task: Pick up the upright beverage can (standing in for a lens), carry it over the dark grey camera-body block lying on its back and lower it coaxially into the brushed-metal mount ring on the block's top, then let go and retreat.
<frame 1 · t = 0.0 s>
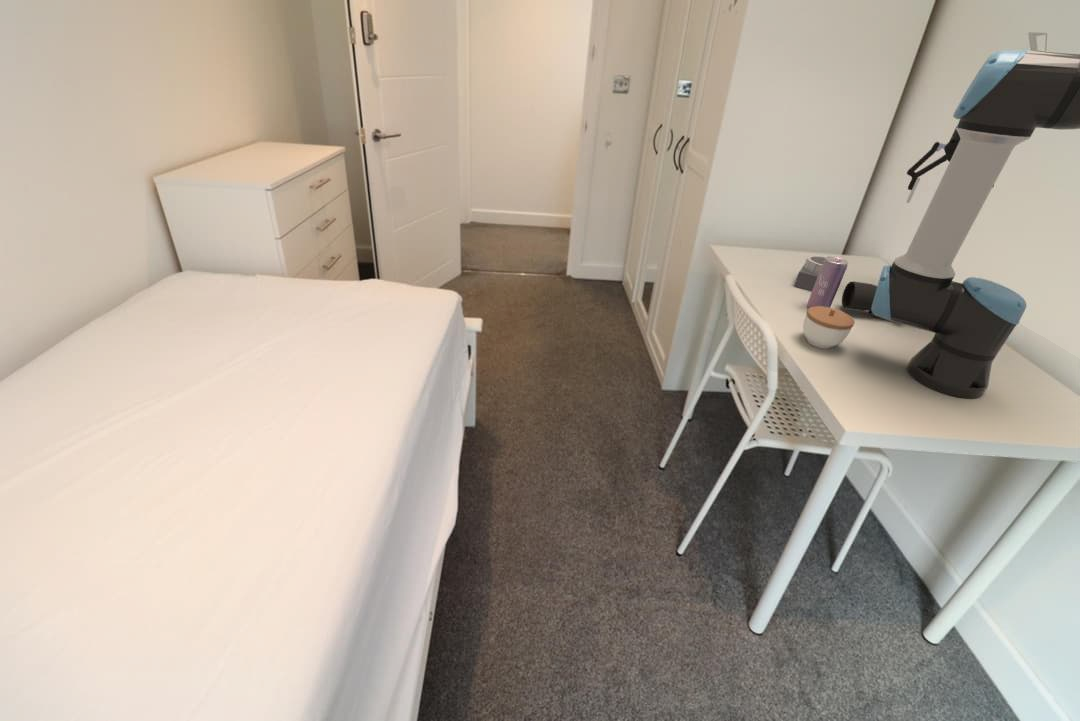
hand: (935, 207, 145), 28 cm above the table, fingers open, 13 cm apart
beverage can: (816, 309, 147), on the table
camera body: (814, 284, 163), on the table
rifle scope: (888, 318, 146), on the table
lidded jar: (819, 343, 130), on the table
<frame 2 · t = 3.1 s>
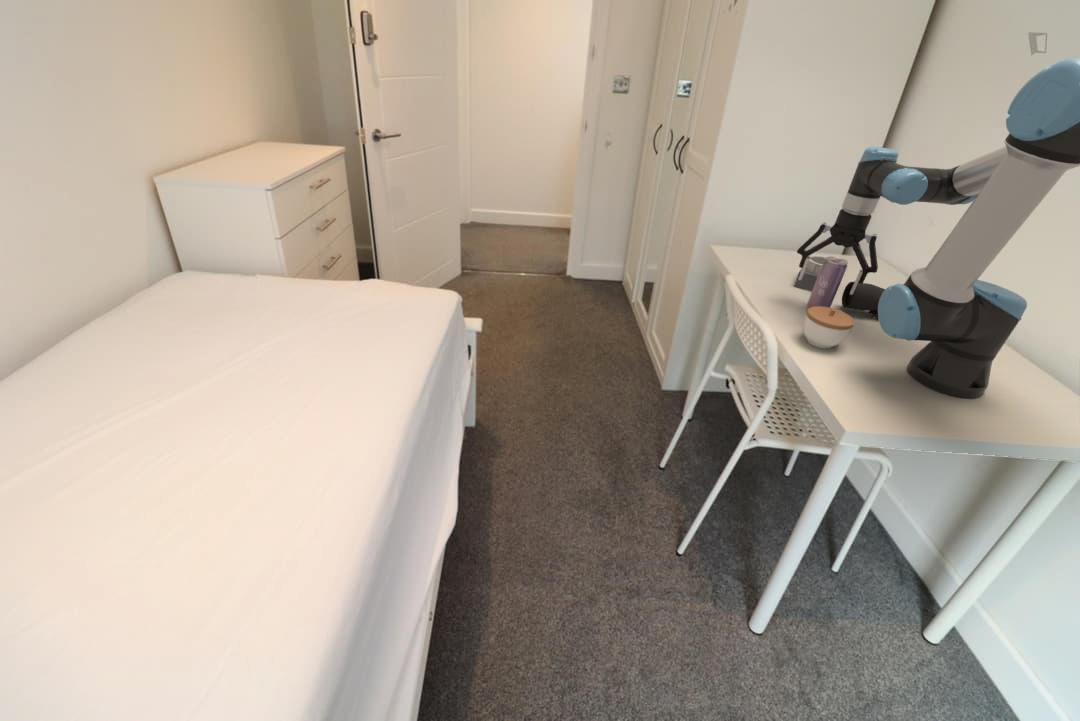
hand: (825, 285, 144), 7 cm above the table, fingers open, 13 cm apart
nothing on the table moved.
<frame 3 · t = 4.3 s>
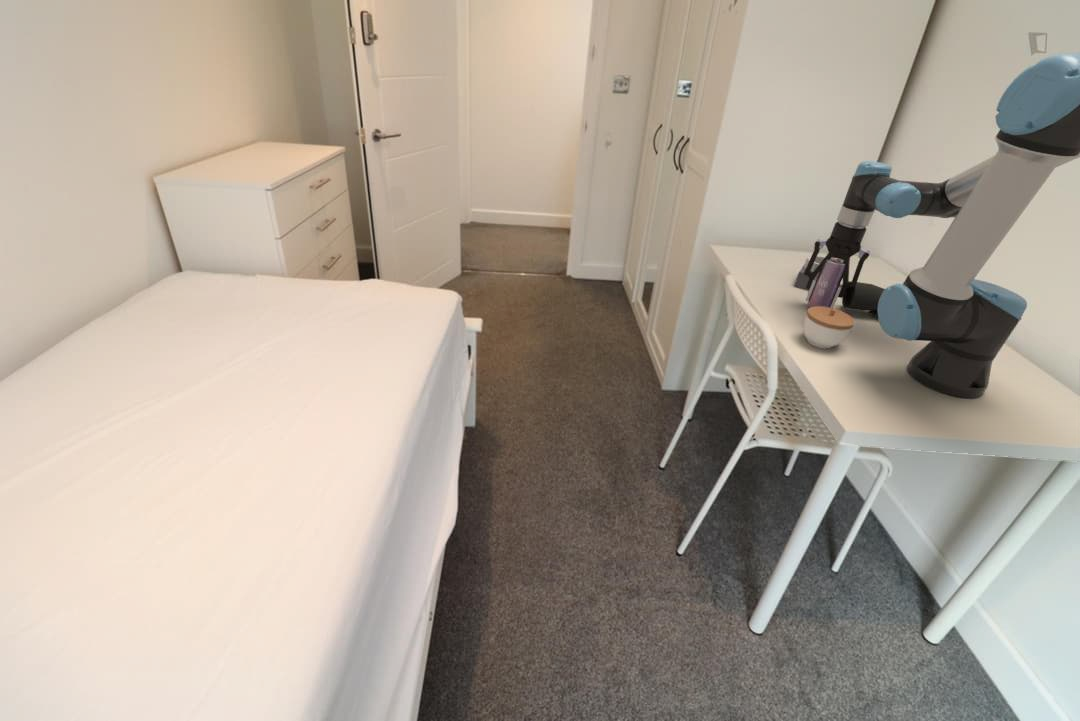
hand: (819, 303, 146), 2 cm above the table, fingers closed on beverage can, 6 cm apart
beverage can: (817, 309, 147), on the table, touching gripper
everything else where it was.
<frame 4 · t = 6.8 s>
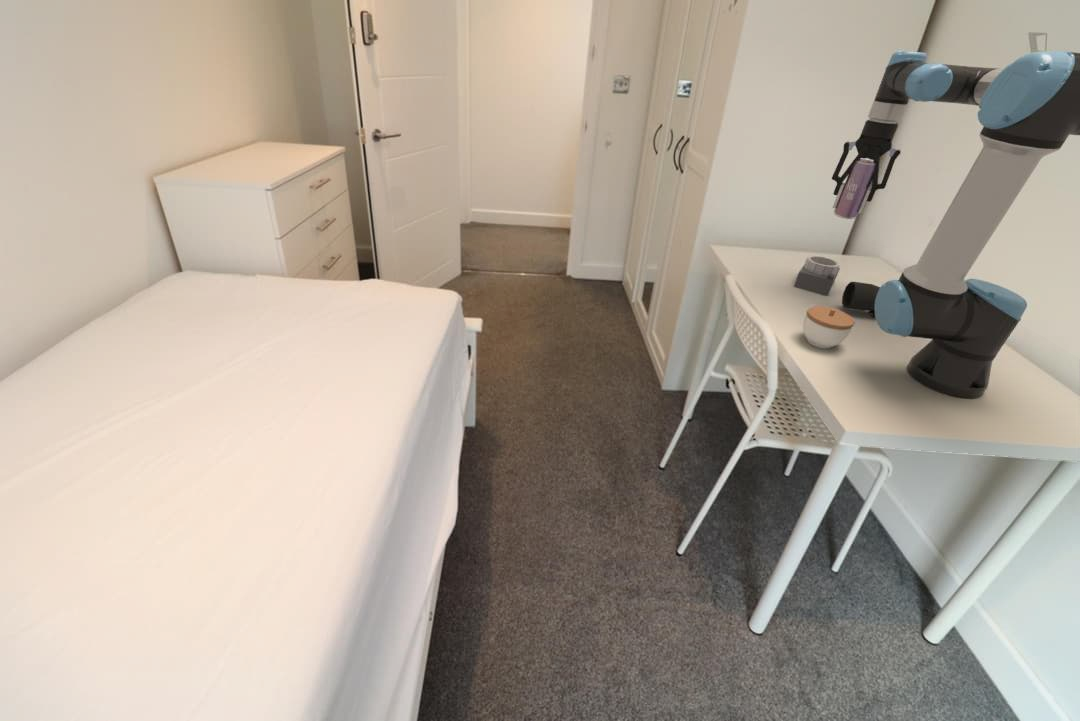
hand: (847, 209, 144), 26 cm above the table, fingers closed on beverage can, 6 cm apart
beverage can: (844, 216, 145), point 24 cm above the table, touching gripper
everything else where it was.
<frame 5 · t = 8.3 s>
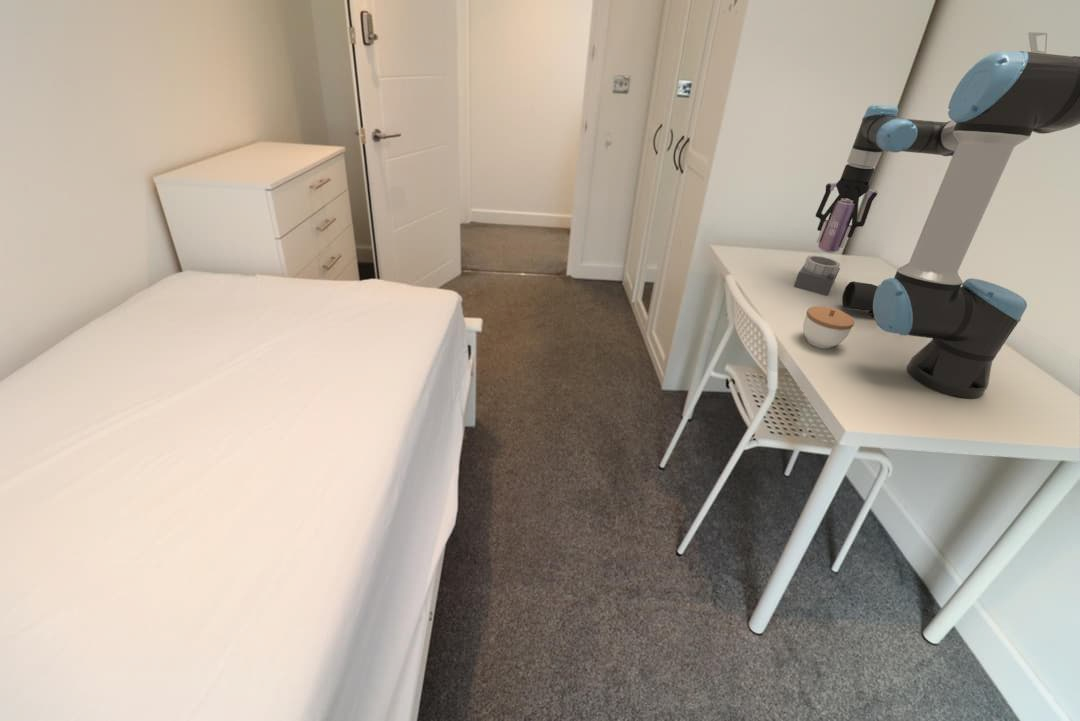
hand: (830, 244, 156), 13 cm above the table, fingers closed on beverage can, 6 cm apart
beverage can: (827, 250, 157), point 11 cm above the table, touching gripper
everything else where it was.
when the fingers open (9 cm above the table, at t = 9.5 s): beverage can drops 2 cm, resting on camera body.
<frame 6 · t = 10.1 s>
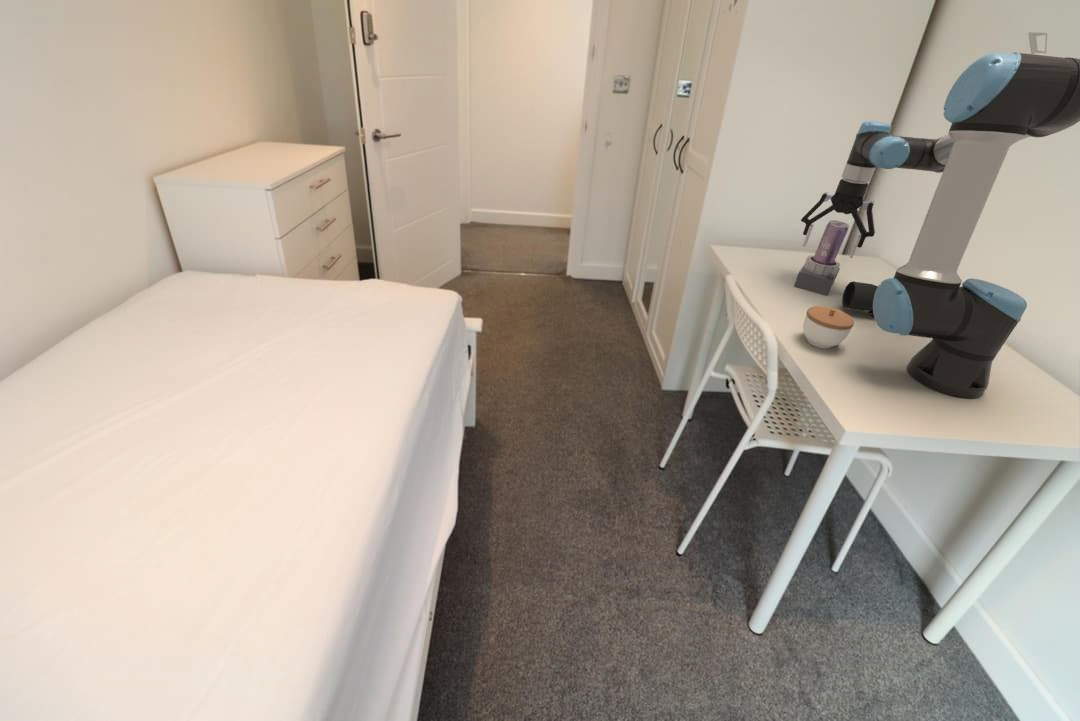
hand: (827, 251, 157), 11 cm above the table, fingers open, 13 cm apart
beverage can: (819, 270, 161), point 5 cm above the table, touching camera body
everything else where it was.
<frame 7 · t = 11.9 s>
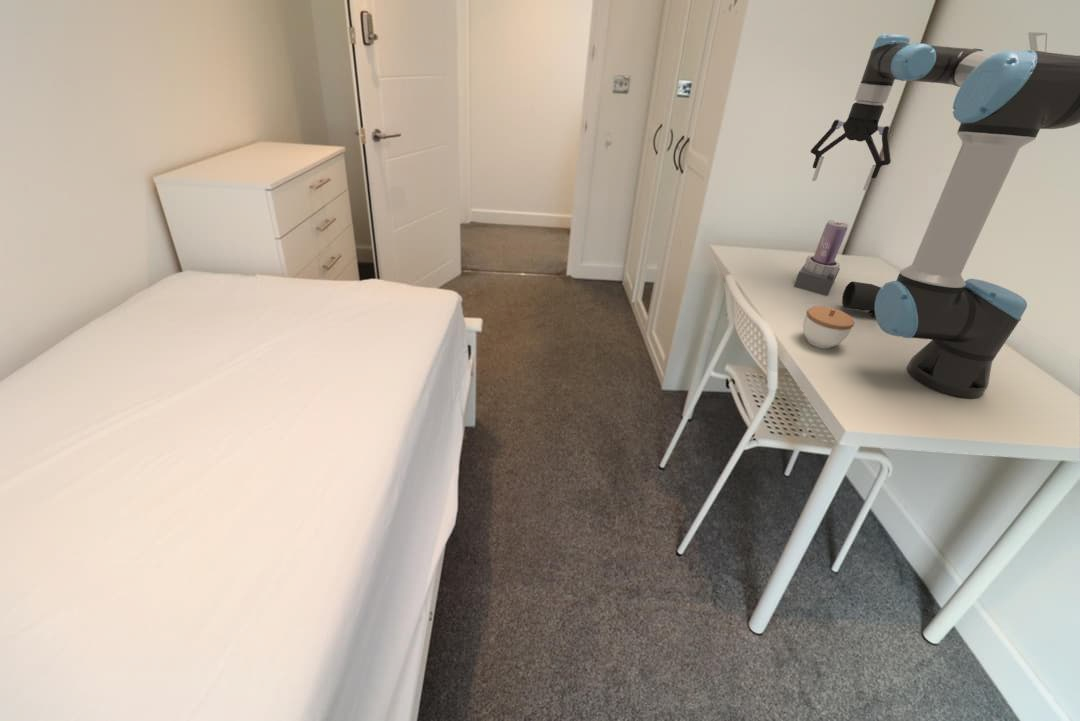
hand: (838, 185, 147), 31 cm above the table, fingers open, 13 cm apart
nothing on the table moved.
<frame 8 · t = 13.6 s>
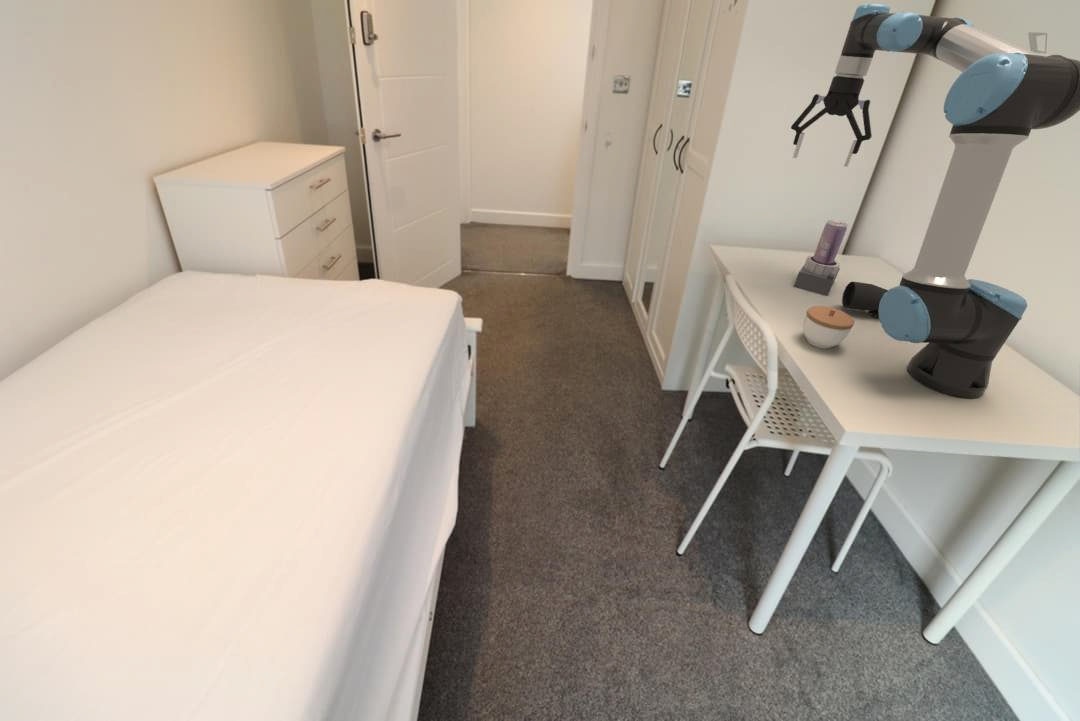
hand: (819, 161, 144), 37 cm above the table, fingers open, 13 cm apart
nothing on the table moved.
at the end: beverage can 0.2 cm off-centre on the camera body, point 4.8 cm above the camera body's base; beverage can tilted 0°; the gripper is holding nothing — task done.
